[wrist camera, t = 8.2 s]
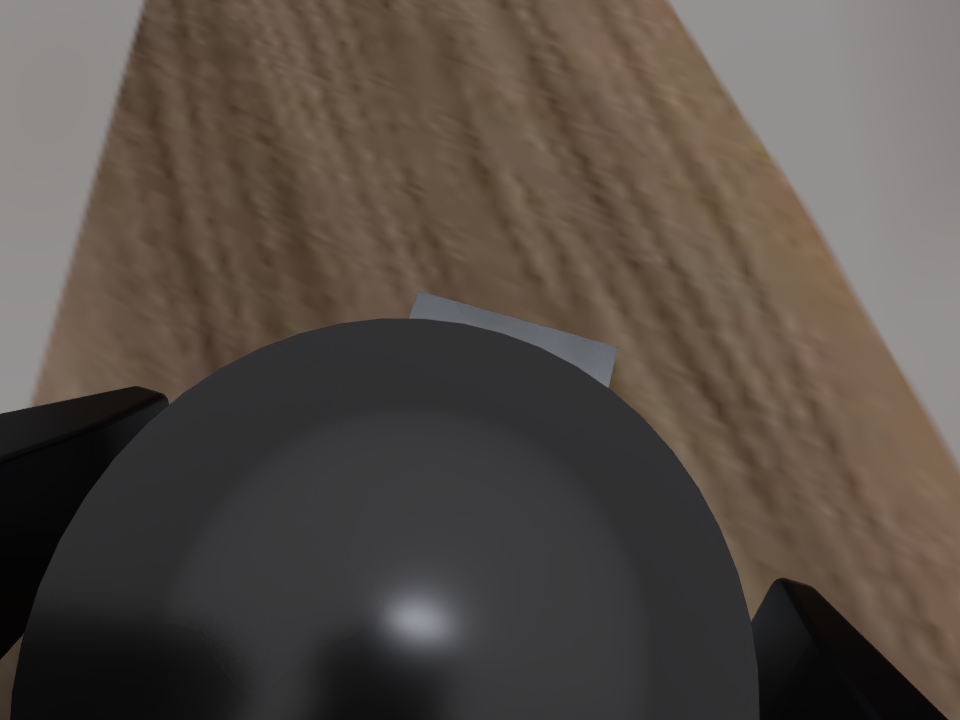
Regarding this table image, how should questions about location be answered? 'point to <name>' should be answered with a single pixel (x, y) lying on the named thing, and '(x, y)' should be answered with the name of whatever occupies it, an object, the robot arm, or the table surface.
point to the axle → (392, 549)
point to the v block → (523, 334)
